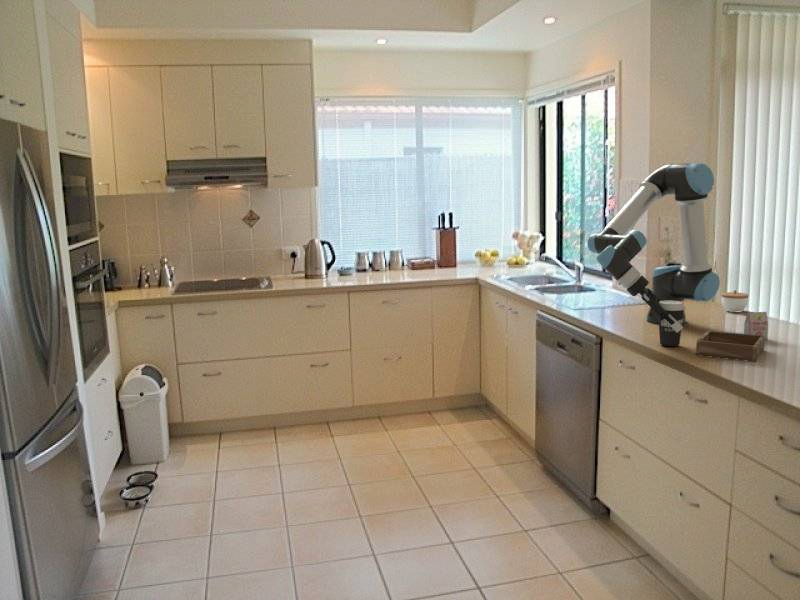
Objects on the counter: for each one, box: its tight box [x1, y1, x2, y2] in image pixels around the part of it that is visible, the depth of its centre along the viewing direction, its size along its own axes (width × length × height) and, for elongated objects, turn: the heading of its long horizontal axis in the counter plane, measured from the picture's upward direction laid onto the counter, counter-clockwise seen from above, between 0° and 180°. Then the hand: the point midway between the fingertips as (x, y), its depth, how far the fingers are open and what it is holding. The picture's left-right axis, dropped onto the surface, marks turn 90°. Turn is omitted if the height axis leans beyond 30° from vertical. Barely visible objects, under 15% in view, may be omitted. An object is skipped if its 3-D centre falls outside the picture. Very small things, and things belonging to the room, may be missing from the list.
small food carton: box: [743, 311, 769, 341], centre depth 252 cm, size 4×7×10 cm, turn 90°
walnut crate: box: [695, 330, 765, 363], centre depth 233 cm, size 18×18×5 cm
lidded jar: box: [720, 289, 749, 311], centre depth 303 cm, size 11×11×9 cm
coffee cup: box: [658, 300, 686, 347], centre depth 245 cm, size 10×10×15 cm
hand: (679, 327), depth 244 cm, fingers closed on coffee cup, 9 cm apart
